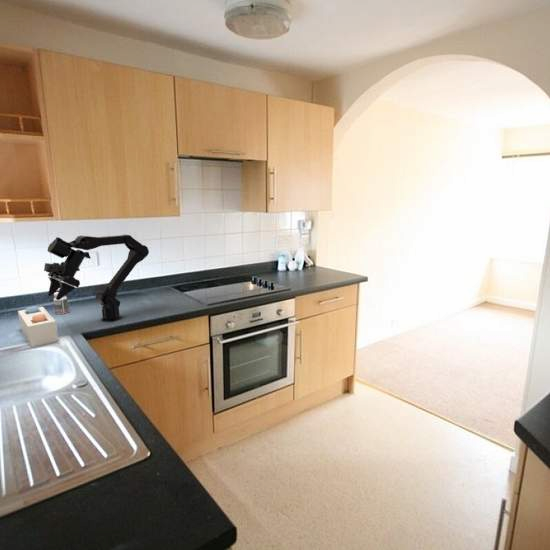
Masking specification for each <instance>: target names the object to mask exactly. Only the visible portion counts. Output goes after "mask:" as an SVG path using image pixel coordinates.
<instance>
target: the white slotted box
mask: <svg viewBox="0 0 550 550" xmlns="http://www.w3.org/2000/svg"><path fill="white" fill-rule="evenodd" d="M38 308H39V312H37V313H31V314H27V313H26V309H22V310H17V313H18V320H19V325H20V330H21V332H22V333H23V335H24V337H25V339H26V340H27V342H28V344H29V346H30V347H31V348H34V347H37V346H41V345H47V344H50V343H51V344H52V343H56V342H59V335H58V329H57V321H56V320H55V318H54V317H53V316H52V315H50V313H49V312H48V310H47V309H45V307H43V306H38ZM40 314H44V315H45V316H46V321H43V322H38V323H33V320H32V317H33V316H35V315H40Z"/></svg>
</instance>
